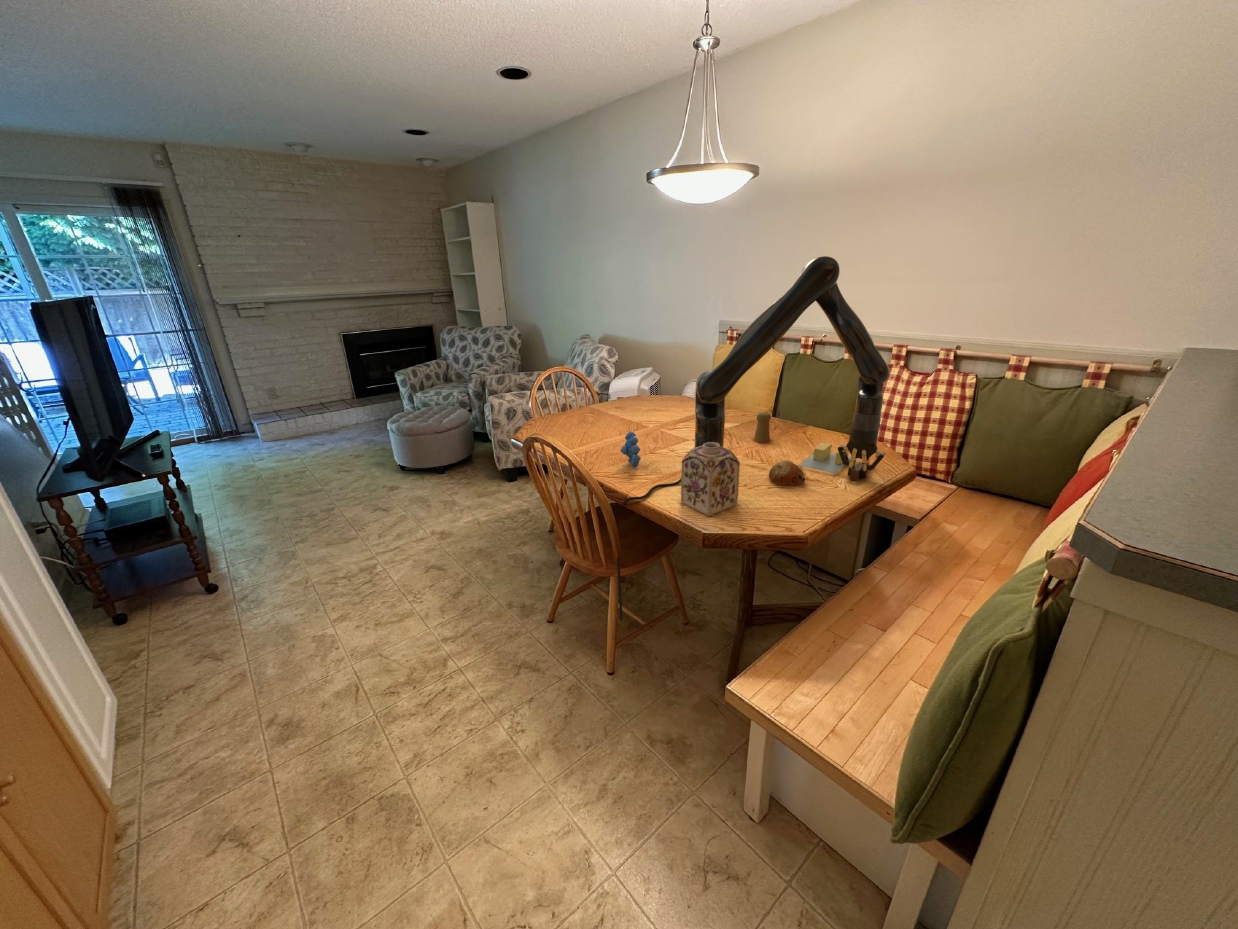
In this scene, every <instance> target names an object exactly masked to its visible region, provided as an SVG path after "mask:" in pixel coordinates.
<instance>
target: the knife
mask: <svg viewBox="0 0 1238 929" xmlns="http://www.w3.org/2000/svg"><path fill="white" fill-rule="evenodd" d="M870 461H871V457H869V463H870ZM861 470H862V461H857V462H856V463H855V465H854V467H853V468H852V469H851V474H850V477H849V481H852V482H857V483H858V482H859V480H861V479H860V474H861Z"/></svg>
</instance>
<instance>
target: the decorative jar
mask: <svg viewBox="0 0 1238 929" xmlns="http://www.w3.org/2000/svg"><path fill="white" fill-rule="evenodd" d="M694 447H695V446H694ZM694 447H693V448H691V449H690V450H689V451H688V452H687V453H686V454H685V455H684V457H683V458H682V459H681V470H680V471H681V474H680V479H681V482H680V503H681V504H684V505H685V506H688V507H690V508H692V509H693V510H696V511H697V512H699V513H702V514H704V515H706V516H708V517H710V516H712V515H715V514H717V513H720V512H722V511H725V510H727V509H730V508H732V507H735V506H737V505H738V502H739V486H740V470H741V468H740V466H741V462H740V460H739V459H738V458H737V456H736V454H735V453H733V451H732V450H731V449H729V448H726V447H720V444H718V443H715V442H708V443H704V444H703V446H699V447H695V448H694Z"/></svg>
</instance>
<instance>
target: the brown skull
mask: <svg viewBox="0 0 1238 929" xmlns="http://www.w3.org/2000/svg"><path fill="white" fill-rule="evenodd" d="M805 476H806V474H805V473H804V470H802V469H801V467H800V466H799V465H797V464H795V463H794V462H793V461H790V460H782V461H781V460H780V461H778V462H776V463H775V464H774V465H772V467H771V468H770V470H769V472H768V479H769V480H770V482H772V483H773V484H775V485H778V486H785V487H796V486H798V485H800V484H802V482H805V478H804V477H805Z"/></svg>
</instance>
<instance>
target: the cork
mask: <svg viewBox="0 0 1238 929" xmlns="http://www.w3.org/2000/svg"><path fill="white" fill-rule="evenodd" d="M771 419H772V415H771V413H769V412H766V411H761V412H759V413H757V415H756V420H757V424H756V428H755V433H754V438H753V441H754V442H757V443H763V444H764V443H765V444H766V443H769V442H770V441H771V433H770V432H771V431H770V421H771Z"/></svg>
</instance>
